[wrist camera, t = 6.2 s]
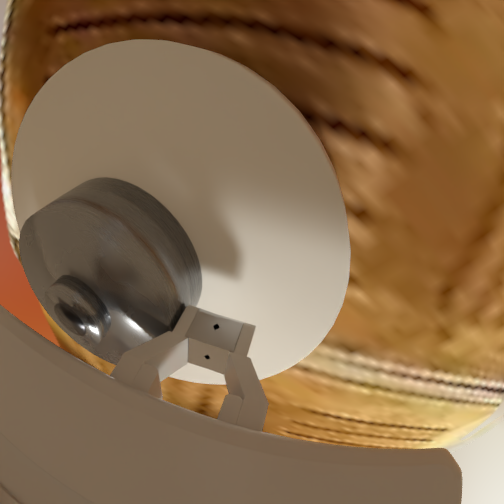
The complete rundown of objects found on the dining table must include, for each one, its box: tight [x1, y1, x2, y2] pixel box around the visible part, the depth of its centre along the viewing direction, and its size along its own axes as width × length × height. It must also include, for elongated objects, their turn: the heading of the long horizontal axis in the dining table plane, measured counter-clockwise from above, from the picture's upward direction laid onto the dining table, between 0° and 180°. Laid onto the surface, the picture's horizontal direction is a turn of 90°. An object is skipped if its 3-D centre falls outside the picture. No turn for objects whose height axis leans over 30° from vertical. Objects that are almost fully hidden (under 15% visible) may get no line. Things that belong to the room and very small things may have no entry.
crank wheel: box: [12, 39, 351, 384], centre depth 13 cm, size 21×21×6 cm
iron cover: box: [19, 177, 202, 365], centre depth 12 cm, size 9×9×5 cm
